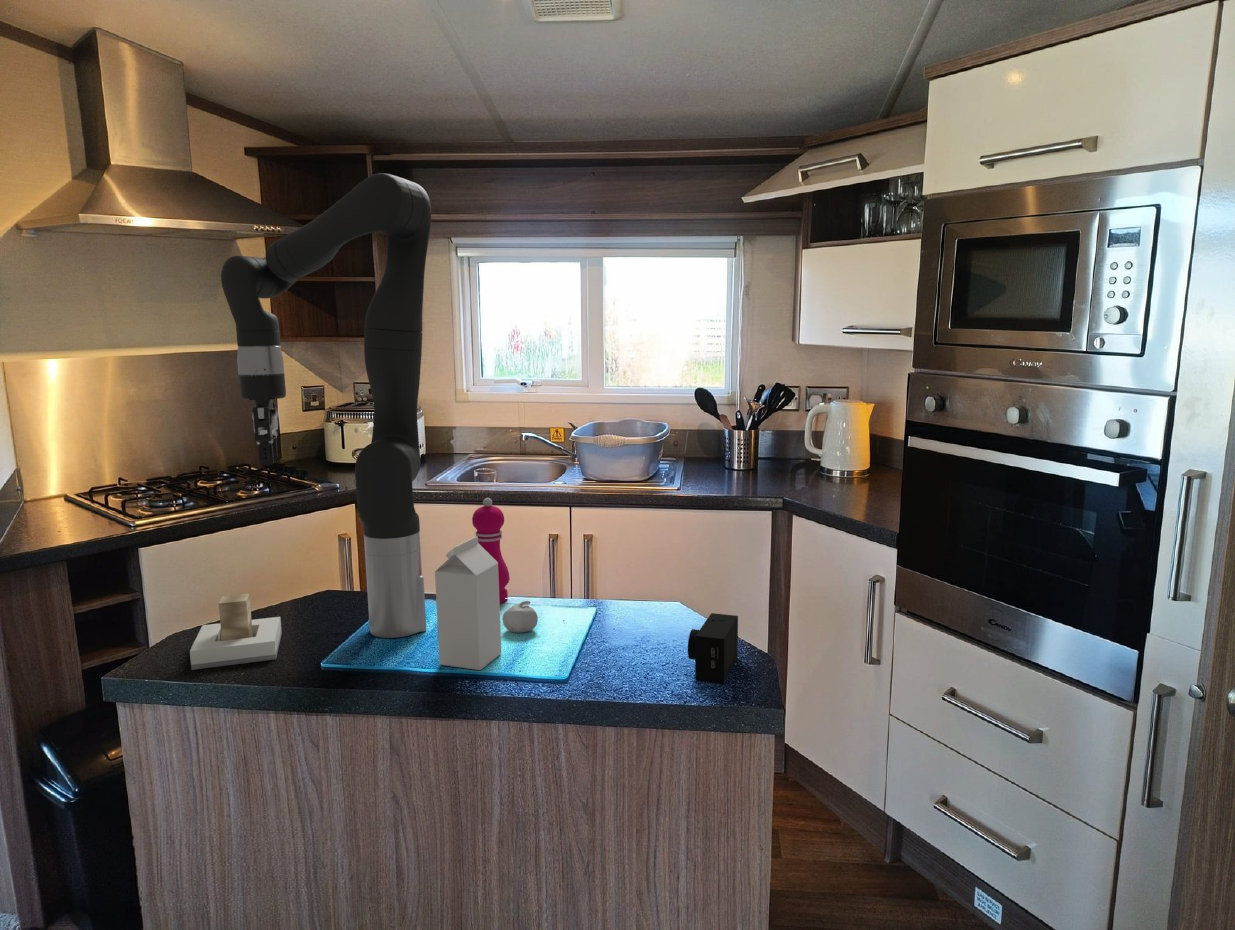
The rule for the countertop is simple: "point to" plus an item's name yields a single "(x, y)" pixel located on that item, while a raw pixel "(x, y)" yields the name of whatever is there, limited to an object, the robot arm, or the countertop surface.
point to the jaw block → (235, 617)
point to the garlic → (520, 618)
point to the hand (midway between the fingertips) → (269, 462)
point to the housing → (236, 645)
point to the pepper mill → (492, 539)
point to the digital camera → (714, 648)
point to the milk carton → (468, 607)
